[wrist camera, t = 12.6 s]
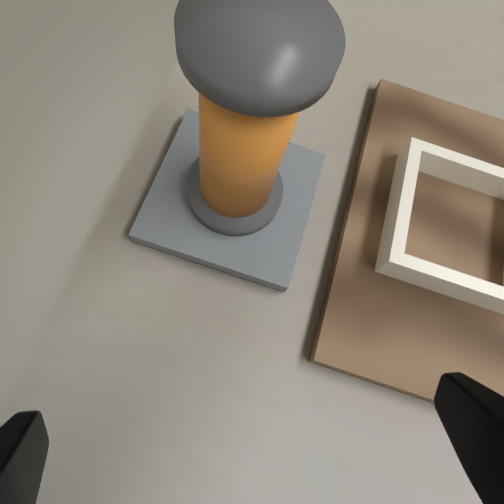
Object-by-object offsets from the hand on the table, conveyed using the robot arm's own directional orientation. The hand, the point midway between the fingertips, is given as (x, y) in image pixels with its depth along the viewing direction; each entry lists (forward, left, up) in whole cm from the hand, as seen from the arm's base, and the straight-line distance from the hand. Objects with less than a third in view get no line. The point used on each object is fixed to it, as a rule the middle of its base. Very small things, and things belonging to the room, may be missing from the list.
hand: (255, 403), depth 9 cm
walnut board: (+5, -18, -14) cm, 23 cm away
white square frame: (+5, -18, -14) cm, 23 cm away
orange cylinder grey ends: (+11, -4, -13) cm, 17 cm away
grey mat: (+11, -4, -14) cm, 18 cm away
